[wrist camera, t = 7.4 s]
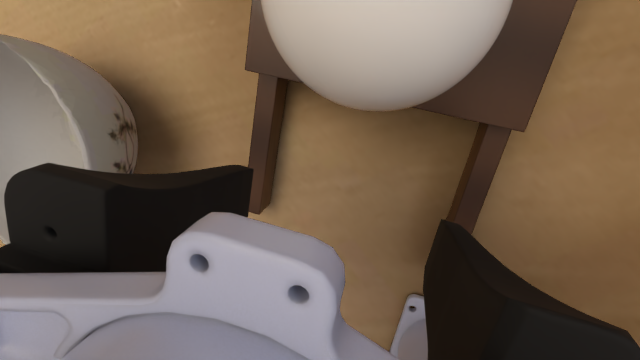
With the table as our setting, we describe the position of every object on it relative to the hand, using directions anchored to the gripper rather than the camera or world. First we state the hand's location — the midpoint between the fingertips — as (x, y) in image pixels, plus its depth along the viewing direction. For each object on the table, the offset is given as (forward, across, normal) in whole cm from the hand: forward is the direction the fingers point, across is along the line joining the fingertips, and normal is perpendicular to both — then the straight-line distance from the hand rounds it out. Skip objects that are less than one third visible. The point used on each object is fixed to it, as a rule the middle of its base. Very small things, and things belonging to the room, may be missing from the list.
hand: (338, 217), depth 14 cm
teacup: (+10, +19, +4) cm, 22 cm away
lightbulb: (+6, 0, -8) cm, 10 cm away
